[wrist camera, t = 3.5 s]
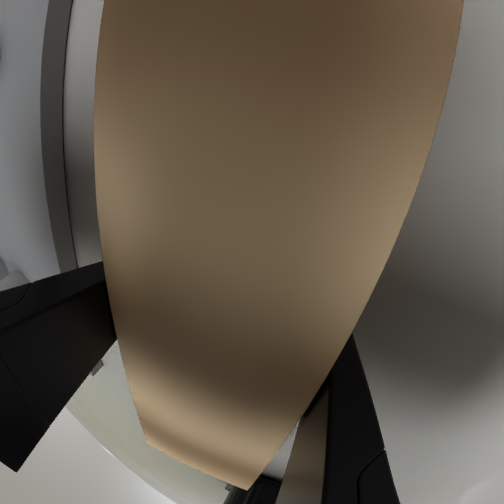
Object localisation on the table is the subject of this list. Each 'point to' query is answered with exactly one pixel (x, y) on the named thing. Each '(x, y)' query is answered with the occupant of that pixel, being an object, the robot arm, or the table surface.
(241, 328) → the oak plank
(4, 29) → the peg board
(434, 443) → the table surface
